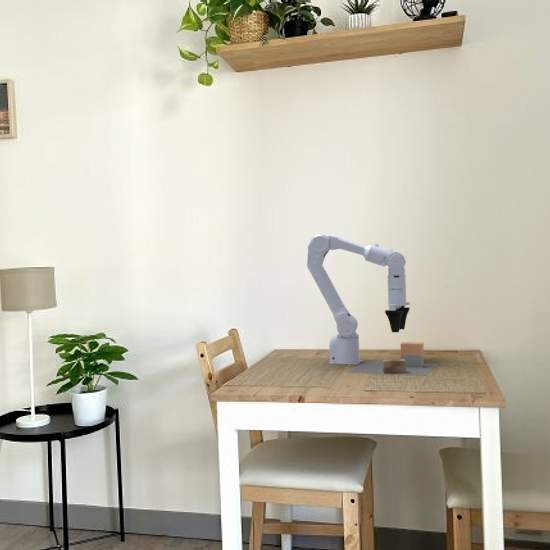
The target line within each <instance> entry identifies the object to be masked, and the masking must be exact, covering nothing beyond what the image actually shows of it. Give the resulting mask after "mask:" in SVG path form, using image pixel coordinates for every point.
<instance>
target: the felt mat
mask: <svg viewBox="0 0 550 550" xmlns="http://www.w3.org/2000/svg"><path fill="white" fill-rule="evenodd" d="M438 365H439V363H429V362H427V363H426V362H424V366H423V367H406V373H386V374H384V372H383V361H377V360H375V361H372V360H370V361H369V360H363V361H362V362H360V363H358V364H356V366H355V367H352V368H350V369H349V370H348V371H346V373H353V374H354V373H355V374H379V375H398V376H399V375H400V376H401V375H402V376H403V375H404V376H418V377H419V376H421V377H425V376H426V377H427V376H428V375H429V374H430V373H432V371H433V370H434V369H435V368H436V367H437V366H438Z"/></svg>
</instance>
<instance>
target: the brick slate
mask: <svg viewBox="0 0 550 550" xmlns="http://www.w3.org/2000/svg"><path fill="white" fill-rule="evenodd" d="M400 359H405V361H406V367H423V366H424V363H425V362H424V361H425V359H424V354H423V355H422V356H410V355H401V354H400Z"/></svg>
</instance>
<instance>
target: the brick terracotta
mask: <svg viewBox="0 0 550 550" xmlns="http://www.w3.org/2000/svg"><path fill="white" fill-rule="evenodd" d="M424 351H425V350H424V342H415V341H413V342H412V341H411V342H410V341H404V342H401V343H400V356H401V355H410V356H422V355H423V356H424V353H425V352H424Z"/></svg>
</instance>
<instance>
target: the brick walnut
mask: <svg viewBox="0 0 550 550" xmlns="http://www.w3.org/2000/svg"><path fill="white" fill-rule="evenodd" d="M382 362H383V372H384V374H383V375H387V374H386V373H406V361H405V359H401V358H395V359H387V358H386V359H382Z"/></svg>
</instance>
